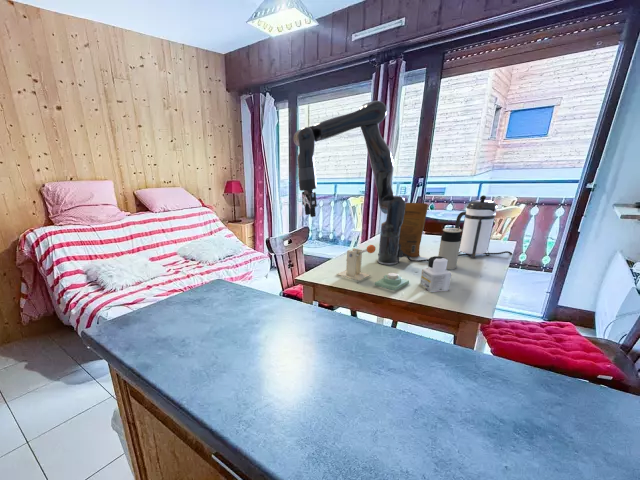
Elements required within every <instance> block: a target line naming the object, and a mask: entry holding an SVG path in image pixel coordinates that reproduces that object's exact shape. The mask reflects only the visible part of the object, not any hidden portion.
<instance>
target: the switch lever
mask: <svg viewBox="0 0 640 480" xmlns="http://www.w3.org/2000/svg"><path fill="white" fill-rule="evenodd" d="M361 250H362V251H359V252H358V250H357V251H355V252H357V256H359V254H360V253H362V254H364V253H368V254H373V253H375V251H376V246H375V245H374V244H369V245H367V247H366V249H361Z"/></svg>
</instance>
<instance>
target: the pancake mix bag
mask: <svg viewBox="0 0 640 480" xmlns="http://www.w3.org/2000/svg"><path fill="white" fill-rule="evenodd" d="M428 208H429V204H428V203H424V202H406V209H405V215H404V221H403V224H402V226H401V232H400V242H399V244H401V249H400V250H402V251H403V253H405V254H407V255H408V256H409V258H418V257H420V256H421V255H420V249H421V242H422V238H423V232H424V229H425V225H426V218H427V214H428ZM404 256H405V255H403V257H404ZM405 257H406V256H405Z"/></svg>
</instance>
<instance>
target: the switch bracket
mask: <svg viewBox="0 0 640 480" xmlns="http://www.w3.org/2000/svg"><path fill="white" fill-rule="evenodd" d="M357 250H358V252H359V251H362V250H363V249H359V248H352V250H349V249H348V250H347V251H346V267H345V270H342V271H341V272H338V273H336V275H337V276H340V277H344V278H347V279H351V280H355V281H361V280H364V279H366V278H368V277H370V276H371V274H369V273H365V272H362V261H363V260H362V259H363V253H360V254H359V256H357V252H355V251H357Z"/></svg>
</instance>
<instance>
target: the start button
mask: <svg viewBox="0 0 640 480" xmlns="http://www.w3.org/2000/svg"><path fill="white" fill-rule="evenodd" d="M387 275H388V276H387V278H388V279H398V276H399V274H398V273H396V272H388V273H387Z"/></svg>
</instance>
